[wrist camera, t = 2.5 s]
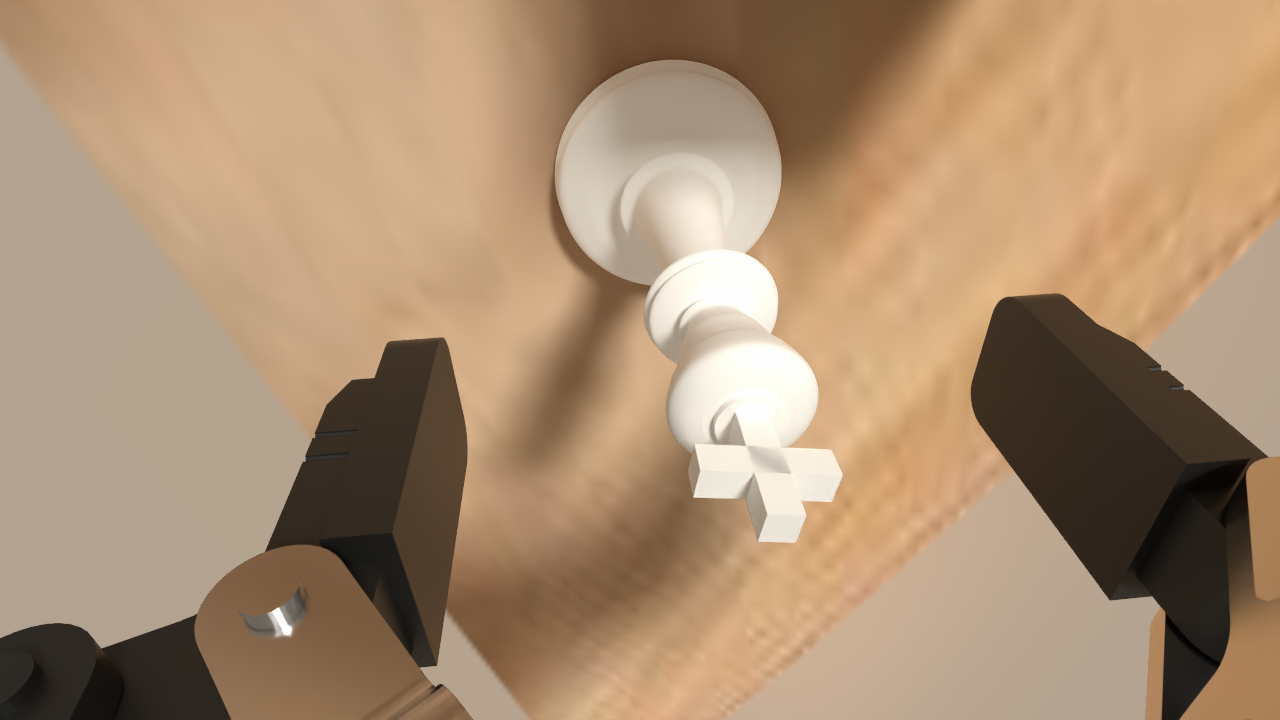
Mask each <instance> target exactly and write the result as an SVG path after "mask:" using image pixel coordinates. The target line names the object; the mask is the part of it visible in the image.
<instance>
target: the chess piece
mask: <svg viewBox="0 0 1280 720" xmlns="http://www.w3.org/2000/svg"><path fill="white" fill-rule="evenodd" d="M781 179H782V165H781V156H780V151H779V146H778V143H777V140H776V136H775V132H774V129H773V126H772V124H771V121H770V119H769V117H768V115H767V113H766V111H765V110H764V108H763V106H762V105H761V103H760V102H759V101H758V99H757V98H756V97H755V96H754V95H753V93H752V92H751V91H750V90H749V89H748V88H747V87H745V86H744V85H743V84H742V83H741V82H739V81H738V80H737V79H735V78H734V77H732V76H731V75H729V74H727V73H725V72H724V71H722V70H719V69H717V68H715V67H712V66H709V65H706V64H703V63H699V62H694V61H688V60H659V61H652V62H647V63H643V64H640V65H637V66H634V67H631V68H628V69H626V70H624V71H622V72H620V73H618V74H616V75H614V76H612V77H611V78H609V79H608V80H606V81H605V82H603V83H602V84H601V85H599V86H598V87H597V88H596V89H594V90H593V91H592V92H591V93H590V94H589V95H588V96H587V97H586V98H585V99H584V100H583V102H582V103H581V104H580V105H579V106H578V108H577V109H576V111H575V112H574V113H573V115H572V117H571V118H570V120H569V122H568V124H567V126H566V128H565V130H564V132H563V134H562V137H561V140H560V143H559V146H558V150H557V155H556V162H555V188H556V194H557V199H558V203H559V206H560V209H561V212H562V214H563V217H564V220H565V222H566V225H567V227H568V229H569V231H570V233H571V235H572V236H573V238H574V240H575V241H576V242H577V244H578V245H579V247H580V248H581V249H582V250H583V251H584V252H585V253H586V255H587V256H588V257H590V258H591V259H592V260H593V261H594V262H595V263H596V264H598V265H599V266H600V267H602V268H603V269H605V270H607V271H608V272H610V273H612V274H614V275H616V276H618V277H620V278H623V279H625V280H628V281H631V282H635V283H639V284H644V285H651V287H650V289H649V291H648V294H647V297H646V300H645V304H644V322H645V327H646V330H647V332H648V335H649V337H650V338H651V340H652V341H653V343H654V344H655V345H656V346H657V347H658V349H659V350H660V351H661V352H662V353H663V354H664V355H665V356H666V357H667V358H669V359H670V360H672V361H673V362H675V363H677V367H676V368H675V370H674V373H673V375H672V378H671V382H670V386H669V390H668V394H667V400H666V417H667V422H668V425H669V428H670V431H671V433H672V435H673V436H674V438H675V439H676V441H677V442H678V443H679V444H680V445H681V446H682V447H683V448H684V449H685V450H687V451H688V452H689V453H691V454H692V455H691V459H690V463H689V467H688V474H689V479H690V484H691V489H692V494H693V497H695V498H727V499H746V502H747V505H748V509H749V512H750V516H751V519H752V523H753V526H754V530H755V534H756V537H757V541H758V542H796V540H797V538H798V535H799V533H800V530H801V528H802V525H803V523H804V520H805V518H806V513H805V510H804V508H803V505H802V502H801V501H823V502H832V500H833V497H834V495H835V493H836V490H837V488H838V486H839V483H840V481H841V479H842V476H843V475H842V473H841V470H840V468H839V466H838V464H837V462H836V459H835V457H834V455H833V453H832V450H828V449H805V448H787V447H788V446H790V445H791V444H792V443H794V442H795V441H796V440H797V439H798V438H799V437H800V436H801V435H802V434H803V433H804V431H805V430H806V429H807V427H808V426H809V424H810V422H811V421H812V419H813V417H814V414H815V411H816V408H817V404H818V386H817V381H816V378H815V376H814V373H813V371H812V370H811V368H810V366H809V365H808V363H807V362H806V361H805V360H804V359H803V358H802V356H801V355H800V354H798V353H797V352H796V351H795V350H794V349H793V348H792V347H790V346H789V345H788V344H786V343H785V342H784V341H782V340H781V339H779V338H778V337H776V336H774V335H772V334H771V332H772V330H773V327H774V325H775V322H776V317H777V308H778V293H777V288H776V285H775V282H774V280H773V278H772V276H771V275H770V273H769V272H768V270H767V269H766V268H765V267H764V266H763V265H762V264H761V263H760V262H758V261H757V260H756V259H754V258H752V257H751V256H749V255H747V254H745V253H746V252H747V251H748V250H749V249H750V248H751V247H752V246H753V245H754V244H755V243H756V241H757V240H758V239H759V238H760V236H761V235H762V233H763V232H764V230H765V229H766V227H767V225H768V223H769V222H770V220H771V217H772V215H773V213H774V210H775V208H776V205H777V201H778V198H779V193H780V188H781Z"/></svg>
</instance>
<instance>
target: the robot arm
mask: <svg viewBox="0 0 1280 720" xmlns="http://www.w3.org/2000/svg"><path fill="white" fill-rule="evenodd" d="M971 402H972V407H973V411H974V414H975V416H976V419H977V421H978V422H979V424H980V425H981V427H982V428H983V429H984V431H985V432H986V433H987V435H988V436H989V437H990V439H991V440H992V442H993V443H994V444H995V446H996V447H997V448H998V450H999V451H1000V452H1001V454H1002V455H1003V456H1004V458H1005V459H1006V460H1007V462H1008V463H1009V465H1010V466H1011V467H1012V469H1013V470H1014V471H1015V473H1016V474H1017V475H1018V477H1019V478H1020V479H1021V481H1022V482H1023V483H1024V485H1025V486H1026V487H1027V489H1028V490H1029V491H1030V493H1031V494H1032V496H1033V497H1034V498H1035V500H1036V501H1037V502H1038V504H1039V505H1040V506H1041V508H1042V509H1043V510H1044V512H1045V513H1046V515H1047V516H1048V517H1049V519H1050V520H1051V521H1052V523H1053V524H1054V525H1055V527H1056V528H1057V529H1058V530H1059V532H1060V534H1061V535H1062V536H1063V537H1064V539H1065V540H1066V541H1067V543H1068V544H1069V546H1070V547H1071V548H1072V549H1073V551H1074V552H1075V554H1076V555H1077V557H1078V558H1079V559H1080V561H1081V562H1082V563H1083V565H1084V566H1085V567H1086V569H1087V570H1088V571H1089V573H1090V574H1091V575H1092V577H1093V578H1094V579H1095V581H1096V582H1097V583H1098V585H1099V586H1100V588H1101V589H1102V590H1103V592H1104V593H1105V594H1106V596H1107V597H1108V598H1109V600H1118V599H1129V598H1139V597H1148V596H1153V598H1154V599H1155V600H1156V601H1157V603H1158V604H1159V605H1160V606H1161V607H1160V608H1159V610H1158V612H1157V613H1156V615H1155V617H1154V618H1153V620H1152V622H1151V627H1150V643H1149V661H1148V679H1147V697H1146V716H1145V720H1280V457H1268V456H1267V455H1265V454H1264V453H1263V452H1262V451H1261V450H1260V449H1258V448H1257V447H1256V446H1255V445H1254V444H1252V443H1251V442H1250V441H1249V440H1247V438H1245V437H1244V436H1243V435H1242V434H1241V433H1240V432H1238V431H1237V430H1236V429H1235V428H1234V427H1233V426H1231V425H1230V424H1229V423H1228V422H1227V421H1225V420H1224V419H1223V418H1222V417H1221V416H1220V415H1218V414H1217V413H1216V412H1215V411H1214V410H1213V409H1211V408H1210V407H1209V406H1208V405H1207V404H1205V403H1204V402H1203V401H1202V400H1201V399H1200V398H1198V397H1197V396H1196V395H1195V394H1194V393H1192V392H1191V391H1190V390H1184V388H1183V384H1182V383H1181V382H1179V381H1178V380H1177V379H1176V378H1175V377H1174V376H1172V375H1171V374H1170V373H1169V372H1168V371H1161V365H1160V364H1158V363H1157V362H1156V361H1155V360H1154V359H1152V358H1151V357H1150V356H1149V355H1148V354H1147V353H1145V352H1144V351H1143V350H1142V349H1141V348H1140V347H1138V346H1137V345H1136V344H1135V343H1133V342H1131V341H1129V340H1127V339H1125V338H1123V337H1121V336H1119V335H1118V334H1116V333H1114V332H1112V331H1110V330H1108V329H1106V328H1104V327H1102V326H1100V325H1098V324H1096V323H1095V322H1094V321H1093V320H1092V319H1091V318H1090V317H1088V316H1087V315H1086V314H1085V313H1084V312H1083V311H1082V310H1080V309H1079V308H1078V307H1077V306H1076V305H1075V304H1074V303H1072V302H1071V301H1070V300H1069V299H1068V298H1066V297H1065V296H1064V295H1061V294H1056V293H1055V294H1041V295H1028V296H1014V297H1005V298H1003V299H1002V300H1000V301H999V302H998V304H997V305H996V307H995V309H994V311H993V314H992V317H991V320H990V324H989V327H988V330H987V334H986V337H985V340H984V344H983V347H982V350H981V354H980V357H979V360H978V364H977V367H976V370H975V374H974V377H973V380H972V385H971ZM305 457H306V462H303V463H302V465H301V468H300V470H299V472H298V475H297V477H296V479H295V482H294V484H293V486H292V489H291V491H290V494H289V496H288V499H287V501H286V503H285V506H284V508H283V510H282V513H281V515H280V517H279V520H278V522H277V525H276V527H275V529H274V532H273V534H272V537H271V539H270V541H269V544H268V546H267V549H266V551H265V552H264V553H261V554H259V555H257V556H255V557H253V558H251V559H249V560H247V561H245V562H244V563H242V564H241V565H239V566H237V567H236V568H235V569H233V570H232V571H231V572H229V573H228V574H227V575H226V576H224V577H223V578H222V579H221V580H220V581H219V582H218V583H217V584H216V585H215V586H214V588H213V589H212V590H211V591H210V593H209V594H208V595H207V597H206V598H205V600H204V601H203V603H202V604H201V607H200V609H199V612H198V614H196V615H194V616H192V617H189V618H187V619H184V620H182V621H180V622H176V623H174V624H171V625H168V626H165V627H162V628H159V629H156V630H154V631H151V632H148V633H145V634H142V635H139V636H137V637H134V638H131V639H128V640H125V641H122V642H119V643H116V644H114V645H111V646H108V647H105V648H102V649H101V648H100V647H99V646H98V644H97V643H96V642H95V640H94V639H93V638H92V637H91V636H90V634H89V633H88V632H87V631H85V630H84V629H82V628H80V627H77V626H74V625H71V624H61V623H54V624H44V625H39V626H34V627H30V628H27V629H23V630H20V631H17V632H14V633H12V634H10V635H7V636H5V637H2V638H0V720H473V719H472V718H471V716H470V715H469V714H468V712H467V711H466V710H465V708H464V707H463V706H462V704H461V703H460V702H459V701H458V699H457V698H456V697H455V696H454V695H453V693H452V692H451V691H450V690H449V689H447V688H446V687H445V686H444V685H442V684H440V685H438V686H436V687H435V686H434V685H432V683H431V682H430V681H429V680H428V679H427V677H426V676H425V675H424V673H423V672H422V671H421V669H420V668H419V667H428V666H437V662H438V655H439V648H440V642H441V635H442V628H443V622H444V615H445V608H446V601H447V595H448V588H449V581H450V574H451V568H452V561H453V554H454V548H455V541H456V534H457V527H458V521H459V514H460V507H461V500H462V494H463V487H464V480H465V474H466V467H467V433H466V426H465V420H464V415H463V411H462V406H461V402H460V397H459V393H458V388H457V384H456V379H455V375H454V370H453V366H452V361H451V357H450V352H449V348H448V345H447V343H446V341H445V339H444V338H428V339H415V340H401V341H390V342H388V343H387V345H386V347H385V350H384V352H383V355H382V358H381V361H380V364H379V367H378V370H377V373H376V375H375V378H371V379H358V380H352V381H351V382H350V383H348V384H347V385H346V386H345V387H344V388H343V389H342V390H341V391H340V392H339V393H338V394H337V395H336V396H335V397H334V398H333V399H332V400H331V401H330V402H329V403H328V404H327V405H326V408H325V410H324V412H323V415H322V417H321V420H320V422H319V424H318V427H317V429H316V431H315V438H313V439H312V441H311V443H310V446H309V448H308V451H307V453H306V456H305Z"/></svg>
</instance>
